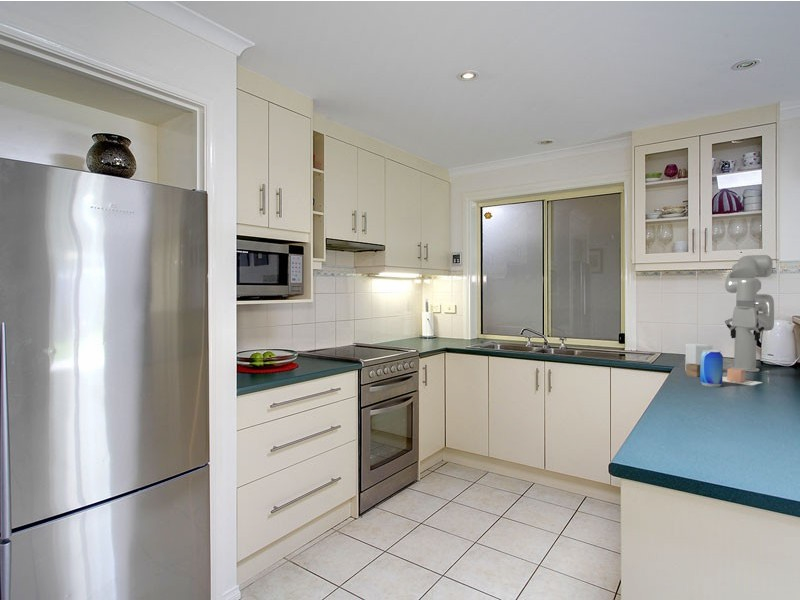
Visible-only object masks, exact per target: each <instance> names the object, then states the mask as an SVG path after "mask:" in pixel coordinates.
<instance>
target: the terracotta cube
mask: <svg viewBox="0 0 800 600" xmlns="http://www.w3.org/2000/svg"><path fill="white" fill-rule="evenodd" d="M726 371H727V372H726V373H727V375H726V377H727V380H728V381H735V382H744V381H745V380H746V372H747V371H746V370H745V369H737V368H731V367H729V368H727V370H726Z"/></svg>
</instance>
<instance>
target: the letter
mask: <svg viewBox="0 0 800 600" xmlns="http://www.w3.org/2000/svg"><path fill="white" fill-rule="evenodd" d="M722 382H727V383H733V384H741V385H744V386H745V385H746V386H756V385H759V384H763V382H762V381H756V380H755V381H754V380H748V379H745V381H744V382H735V381H728V380H727V376H722Z"/></svg>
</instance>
